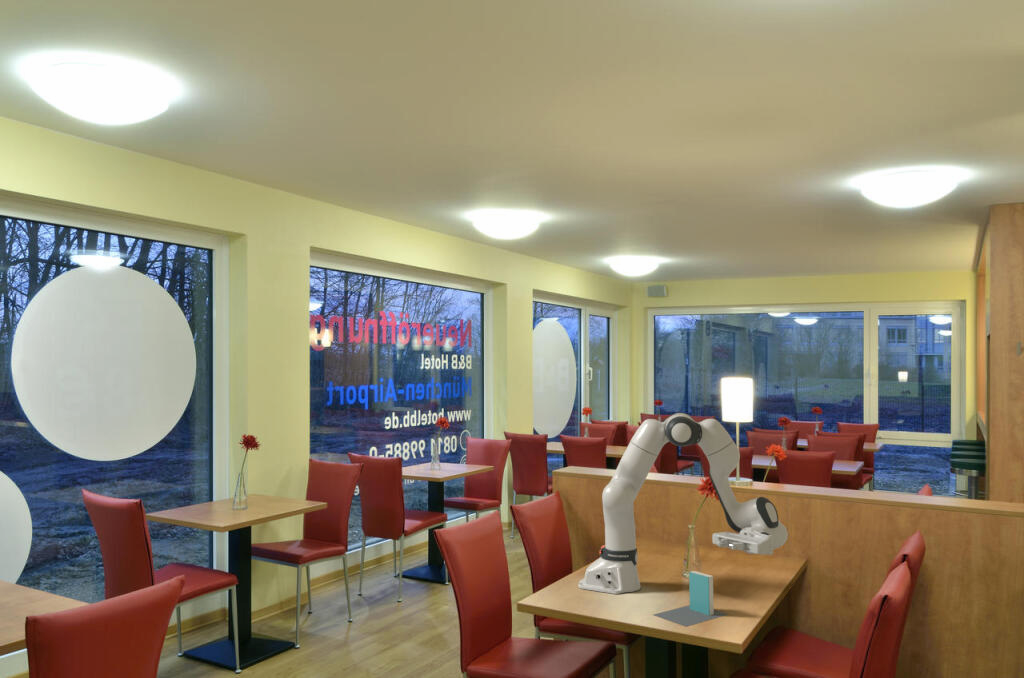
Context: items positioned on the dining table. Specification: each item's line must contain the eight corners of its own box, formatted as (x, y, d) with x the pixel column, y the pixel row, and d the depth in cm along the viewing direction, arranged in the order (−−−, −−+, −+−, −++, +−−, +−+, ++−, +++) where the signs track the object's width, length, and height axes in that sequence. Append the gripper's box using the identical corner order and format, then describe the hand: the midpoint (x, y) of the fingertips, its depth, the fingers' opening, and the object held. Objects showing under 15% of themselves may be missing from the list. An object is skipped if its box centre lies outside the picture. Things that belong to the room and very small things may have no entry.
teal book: (694, 607, 249) (693, 570, 250) (713, 614, 243) (712, 576, 243) (689, 609, 248) (689, 571, 248) (709, 615, 241) (708, 577, 242)
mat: (695, 605, 254) (695, 603, 254) (729, 616, 242) (729, 614, 242) (652, 616, 242) (652, 614, 242) (685, 628, 231) (685, 626, 231)
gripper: (727, 526, 269) (700, 531, 262) (776, 535, 253) (750, 541, 245) (727, 544, 269) (701, 549, 261) (777, 555, 252) (750, 561, 245)
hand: (725, 545), depth 253 cm, fingers open, 3 cm apart
